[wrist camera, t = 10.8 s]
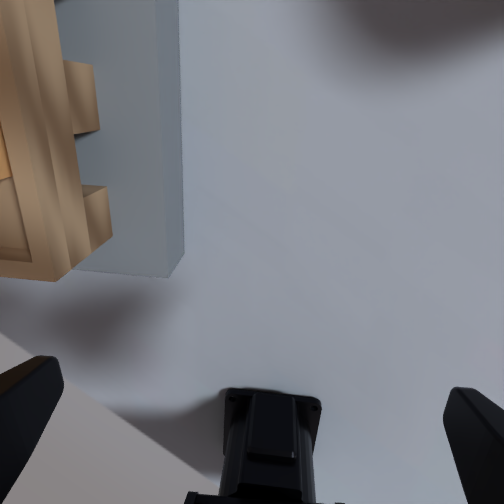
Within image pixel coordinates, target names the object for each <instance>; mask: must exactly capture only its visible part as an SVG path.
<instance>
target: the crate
mask: <svg viewBox="0 0 504 504" xmlns="http://www.w3.org/2000/svg"><path fill="white" fill-rule="evenodd" d="M11 176H13V174H12V170H11V165H10V161H9V156H8V152H7V148H6V143H5V139H4V135H3V130H2V126H1V121H0V180H1V179H4V178H8V177H11Z"/></svg>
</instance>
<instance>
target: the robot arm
mask: <svg viewBox="0 0 504 504" xmlns="http://www.w3.org/2000/svg"><path fill="white" fill-rule="evenodd" d="M63 389H64V381H63V377H62V373H61V369H60V365H59V362H58V359H57V358H56V357H54V356H42V355H40V356H36V357H33V358H31V359H29V360H28V361H26V362H24V363H22V364H20V365H18V366H16V367H14V368H12V369H10V370H8V371H6V372H4V373H2V374H0V504H2V502H3V500H4V499H5V498H6V496H7V494H8V493H9V491H10V490H11V488H12V486H13V485H14V483H15V481H16V480H17V478H18V477H19V475H20V473H21V472H22V470H23V468H24V467H25V465H26V463H27V462H28V460H29V458H30V456H31V454H32V452H33V451H34V449H35V447H36V445H37V443H38V441H39V439H40V437H41V435H42V433H43V431H44V429H45V427H46V425H47V423H48V421H49V419H50V417H51V415H52V413H53V411H54V409H55V407H56V405H57V403H58V401H59V399H60V397H61V395H62V393H63ZM231 396H233V397H231ZM321 410H322V407H321V402H320V400H318V399H316V398H308V397H299V396H290V395H282V394H273V393H264V392H255V391H246V390H237V389H230V390H228V391H227V392H226V397H225V417H224V445H223V454H224V455H225V458H224V464H223V470H222V476H221V482H220V488H219V494H218V496H217V495H204V494H198V492H190V491H189V492H188V494H187V497H186V499H185V502H184V504H322V503H316V496H315V482H314V469H313V451H314V446H315V441H316V436H317V431H318V425H319V420H320V415H321ZM443 424H444V428H445V431H446V434H447V438H448V441H449V444H450V447H451V451H452V454H453V457H454V461H455V464H456V467H457V471H458V474H459V477H460V480H461V484H462V487H463V490H464V493H465V496H466V499H467V502H468V504H504V410H503V409H502V408H501V407H499V406H498V405H496V404H495V403H494V402H492V401H491V400H490V399H488V398H487V397H485V396H484V395H483V394H481V393H480V392H479V391H477V390H476V389H473V388H466V387H454V388H453V389H452V390H451V392H450V394H449V397H448V401H447V404H446V407H445V410H444V413H443ZM335 504H345V503H335Z"/></svg>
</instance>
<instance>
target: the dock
mask: <svg viewBox="0 0 504 504" xmlns="http://www.w3.org/2000/svg"><path fill="white" fill-rule="evenodd" d="M54 5H55V12H56V19H57V25H58V32H59V39H60V46H61V52H62V59H63V60H68V61H73V62H79V63H85V64H91V65H93V72H94V80H95V89H96V97H97V106H98V114H99V123H100V130H96V131H90V132H84V133H79V134H74V140H75V147H76V153H77V160H78V167H79V174H80V180H81V184H83V185H96V186H107V191H108V199H109V208H110V216H111V225H112V233H113V236H112V237H111V238H110V239H109V240H107V241H106V242H105V243H104V244H102V245H101V246H100V247H99V248H97V249H96V250H95V251H94V252H92V253H91V254H90V255H89V256H87V257H86V258H85V259H84V260H82V261H81V262H80V263H79V264H77V265H76V266H75V267H74V268H72V269H73V270H84V271H94V272H105V273H115V274H126V275H136V276H146V277H157V278H167V279H168V278H169V277H170V275H171V273H172V272H173V270H174V269H175V267H176V266H177V264H178V263H179V261H180V260H181V258H182V256H183V255H184V222H183V181H182V140H181V98H180V57H179V16H178V0H54Z"/></svg>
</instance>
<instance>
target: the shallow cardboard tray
mask: <svg viewBox="0 0 504 504" xmlns="http://www.w3.org/2000/svg"><path fill="white" fill-rule="evenodd" d="M0 121H1V126H2V130H3V135H4V139H5V143H6V148H7V152H8V156H9V161H10V165H11V170H12V174H13V176H11V177H8V178H4V179H1V180H0V277H8V278H19V279H29V280H39V281H50V282H56V281H57V280H59V279H60V278H61V277H62V276H64V275H65V274H66V273H67V272H69V271H70V270H71V269H72V268H74V267H75V266H76V265H77V264H79V263H80V262H81V261H82V260H84V259H85V258H86V257H87V256H89V255H90V254H91V253H92V252H94V251H95V250H96V249H97V248H99V247H100V246H101V245H102V244H104V243H105V242H106V241H107V240H109V239H110V238H111V237H112V236H113V233H112V225H111V216H110V208H109V199H108V191H107V186H96V185H83V184H81V180H80V174H79V167H78V160H77V153H76V147H75V140H74V134H79V133H84V132H90V131H96V130H100V123H99V114H98V106H97V97H96V89H95V80H94V72H93V65H91V64H85V63H79V62H73V61H68V60H63V59H62V52H61V46H60V39H59V32H58V25H57V19H56V12H55V5H54V0H0Z"/></svg>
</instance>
